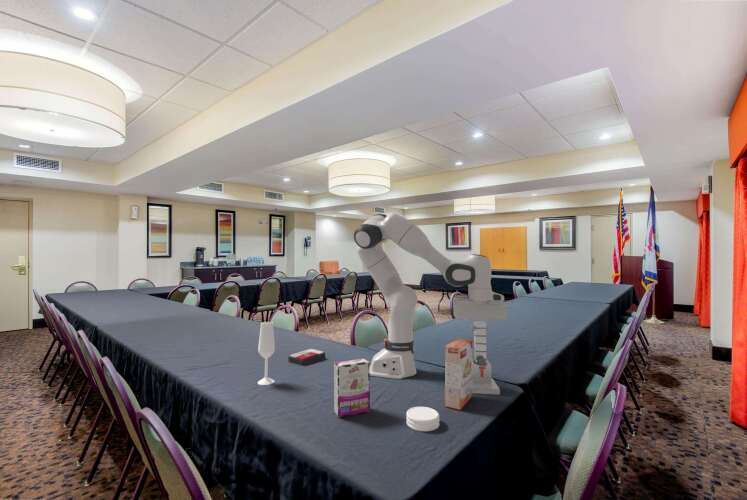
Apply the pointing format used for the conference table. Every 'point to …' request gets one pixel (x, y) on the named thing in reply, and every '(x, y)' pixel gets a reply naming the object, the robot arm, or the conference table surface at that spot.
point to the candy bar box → (351, 387)
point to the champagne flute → (266, 348)
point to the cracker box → (458, 373)
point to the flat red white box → (306, 357)
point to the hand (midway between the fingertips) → (479, 330)
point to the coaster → (422, 418)
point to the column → (479, 341)
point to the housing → (483, 378)
